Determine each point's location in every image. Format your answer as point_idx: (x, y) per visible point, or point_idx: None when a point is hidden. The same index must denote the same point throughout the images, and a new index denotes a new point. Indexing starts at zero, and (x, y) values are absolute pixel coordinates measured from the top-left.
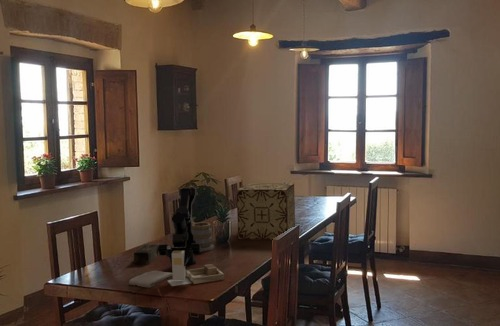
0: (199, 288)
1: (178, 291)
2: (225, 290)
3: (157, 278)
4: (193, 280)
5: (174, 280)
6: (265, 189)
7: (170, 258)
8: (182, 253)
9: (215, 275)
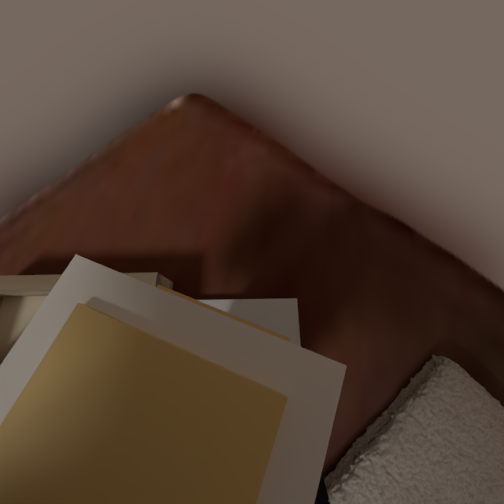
0: (169, 225)
1: (274, 225)
2: (87, 160)
3: (395, 456)
4: (162, 285)
5: None
6: None
7: (322, 496)
8: (90, 261)
9: (16, 275)
